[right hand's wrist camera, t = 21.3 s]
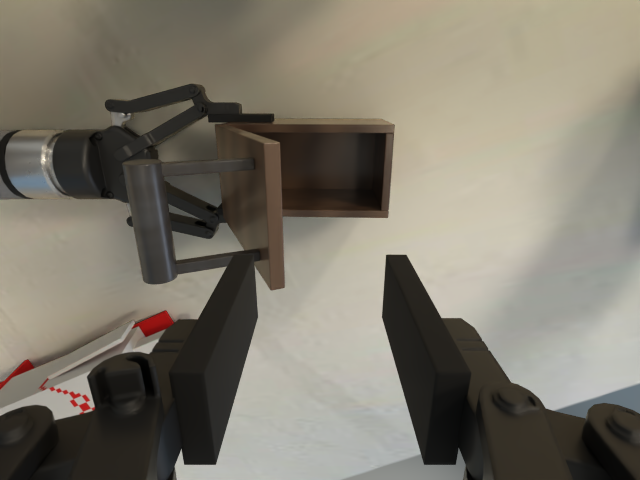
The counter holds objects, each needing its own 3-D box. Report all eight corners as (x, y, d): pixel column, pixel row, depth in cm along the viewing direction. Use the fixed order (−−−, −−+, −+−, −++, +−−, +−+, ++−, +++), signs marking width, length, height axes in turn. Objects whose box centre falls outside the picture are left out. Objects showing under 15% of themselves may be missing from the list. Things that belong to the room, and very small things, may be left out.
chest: (382, 119, 45) (394, 124, 36) (377, 194, 49) (388, 218, 39) (245, 118, 46) (221, 123, 36) (250, 192, 49) (229, 215, 40)
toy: (210, 401, 49) (-5, 491, 49) (222, 344, 62) (51, 415, 61) (164, 326, 45) (-70, 424, 45) (187, 282, 58) (4, 357, 57)
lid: (280, 142, 21) (115, 149, 18) (285, 288, 25) (145, 315, 21) (225, 124, 36) (128, 126, 33) (232, 216, 39) (145, 226, 36)
